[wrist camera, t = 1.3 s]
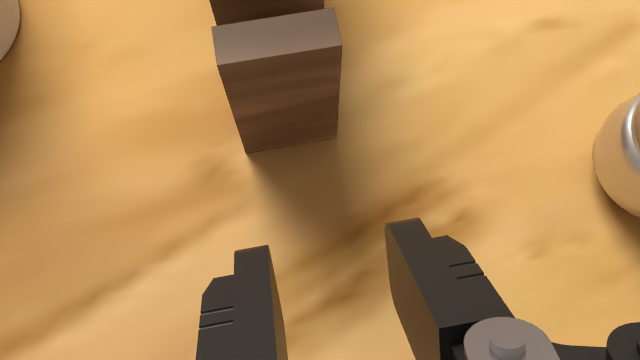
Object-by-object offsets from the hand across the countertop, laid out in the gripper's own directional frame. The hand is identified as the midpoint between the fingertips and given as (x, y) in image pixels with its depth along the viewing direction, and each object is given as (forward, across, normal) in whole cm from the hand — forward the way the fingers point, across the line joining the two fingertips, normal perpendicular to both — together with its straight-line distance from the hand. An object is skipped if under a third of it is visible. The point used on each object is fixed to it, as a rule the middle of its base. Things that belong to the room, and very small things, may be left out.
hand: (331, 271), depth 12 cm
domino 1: (+19, 0, +4) cm, 19 cm away
